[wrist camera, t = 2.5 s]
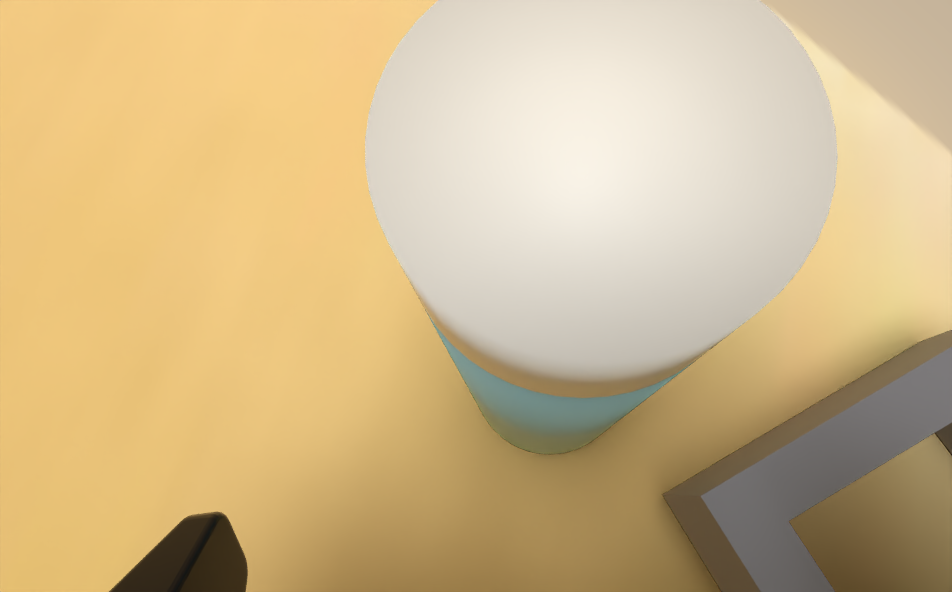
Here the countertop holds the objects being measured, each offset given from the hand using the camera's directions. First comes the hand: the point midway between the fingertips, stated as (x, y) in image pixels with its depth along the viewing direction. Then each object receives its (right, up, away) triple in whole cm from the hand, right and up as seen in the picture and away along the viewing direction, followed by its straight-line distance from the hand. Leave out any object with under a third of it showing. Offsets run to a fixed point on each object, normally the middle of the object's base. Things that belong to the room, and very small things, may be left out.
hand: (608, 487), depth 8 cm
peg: (0, 0, +10) cm, 10 cm away
